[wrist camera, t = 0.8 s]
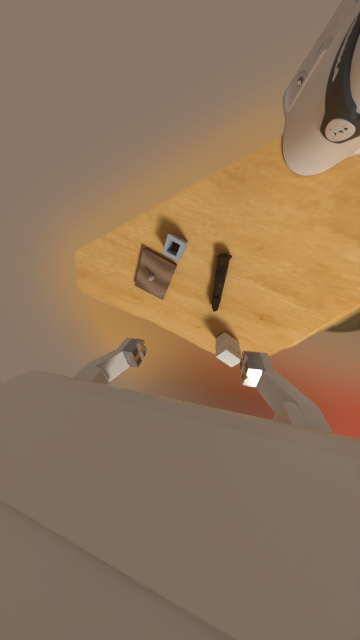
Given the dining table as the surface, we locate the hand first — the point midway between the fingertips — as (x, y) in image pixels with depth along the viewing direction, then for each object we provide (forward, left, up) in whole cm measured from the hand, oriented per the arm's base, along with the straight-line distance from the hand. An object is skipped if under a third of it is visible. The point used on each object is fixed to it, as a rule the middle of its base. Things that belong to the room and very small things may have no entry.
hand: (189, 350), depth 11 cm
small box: (+23, +22, -38) cm, 50 cm away
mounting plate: (+12, -16, -38) cm, 43 cm away
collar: (0, -12, -38) cm, 40 cm away
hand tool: (+4, +7, -39) cm, 39 cm away
